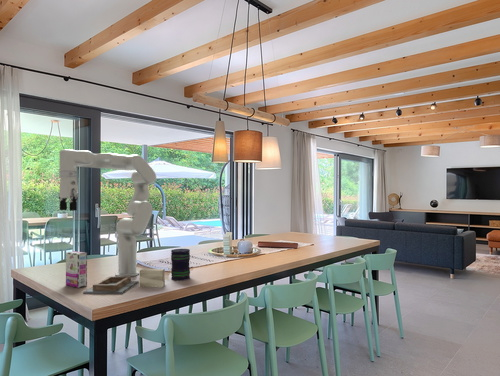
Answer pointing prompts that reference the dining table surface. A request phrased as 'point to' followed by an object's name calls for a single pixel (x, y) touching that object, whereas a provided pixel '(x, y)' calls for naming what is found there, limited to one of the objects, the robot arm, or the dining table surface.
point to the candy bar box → (76, 269)
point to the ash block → (152, 277)
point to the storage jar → (180, 264)
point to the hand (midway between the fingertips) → (68, 210)
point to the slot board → (112, 286)
